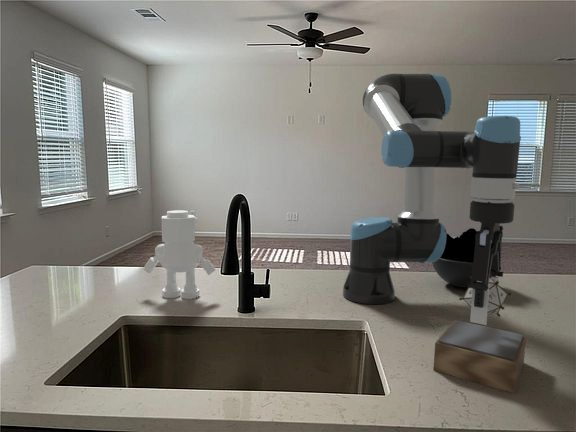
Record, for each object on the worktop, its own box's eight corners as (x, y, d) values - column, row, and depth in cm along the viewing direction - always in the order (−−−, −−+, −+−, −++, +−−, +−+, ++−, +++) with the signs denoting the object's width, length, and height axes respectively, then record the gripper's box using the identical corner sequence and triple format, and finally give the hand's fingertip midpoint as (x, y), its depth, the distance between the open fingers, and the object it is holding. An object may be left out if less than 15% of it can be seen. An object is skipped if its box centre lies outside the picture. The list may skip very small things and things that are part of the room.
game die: (492, 336, 82) (521, 308, 75) (450, 318, 83) (475, 288, 77) (493, 303, 88) (520, 273, 82) (454, 286, 90) (477, 256, 83)
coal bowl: (505, 286, 138) (509, 229, 136) (480, 300, 124) (485, 237, 122) (446, 274, 152) (449, 222, 150) (417, 285, 138) (420, 228, 136)
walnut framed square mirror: (433, 370, 83) (435, 340, 82) (452, 344, 94) (453, 318, 93) (514, 393, 75) (517, 361, 74) (523, 362, 86) (526, 334, 85)
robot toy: (221, 291, 130) (220, 210, 127) (210, 303, 119) (209, 215, 115) (152, 288, 132) (150, 208, 129) (135, 300, 121) (132, 213, 118)
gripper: (505, 206, 69) (494, 338, 72) (522, 197, 87) (513, 303, 90) (456, 203, 73) (448, 328, 76) (482, 195, 91) (475, 296, 94)
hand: (483, 314), depth 83 cm, fingers closed on game die, 10 cm apart
